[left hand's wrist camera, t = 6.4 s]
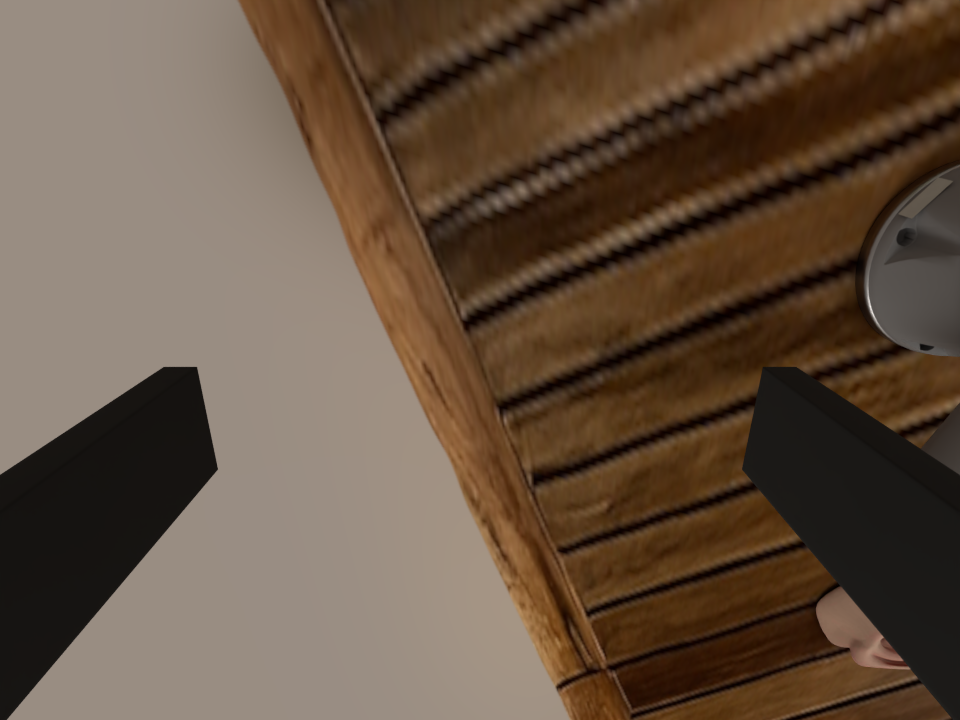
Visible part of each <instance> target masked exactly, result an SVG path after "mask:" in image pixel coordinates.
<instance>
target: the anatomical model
mask: <svg viewBox="0 0 960 720" xmlns="http://www.w3.org/2000/svg"><path fill="white" fill-rule="evenodd" d="M816 613H817V617H818V620H819V623H820V626H821V628H822V630H823V632H824V633H825V635H826V636H827V638H828V639H829V641H831V642H832V643H833V644H835V645H837V646H841V647H849V648H850V650H851V655H852V658H853V660H854V661H855V662H856V663H857V664H859V665H861V666H866V667H877V668H890V669H910V668H909V667H908V665H907V664H906V663H905V662H904V661H903V660H902V658H901V657H900V656H899V655H898V654H897V652H896V651H895V650H894V649H893V648H892V646H891V645H890V644H889V643H888V642H887V641H886V639H885V638H884V637H883V636H882V635H881V633H880V632H879V631H878V630H877V629H876V628H875V626H874V625H873V624H872V623H871V622H870V620H869V619H868V618H867V617H866V616H865V614H864V613H863V612H862V611H861V610H860V609H859V607H858V606H857V605H856V604H855V603H854V601H853V600H852V599H851V598H850V597H849V596H848V594H847V593H846V592H845V591H844V590H843V588H842V587H841V586H839V587H838V588H836V589H834V590H832V591H831V592H829V593H828V594H826V595H825V596H824V597H823V598H822V599H820V601H819V602H818V604H817V606H816Z"/></svg>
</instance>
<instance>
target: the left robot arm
mask: <svg viewBox="0 0 960 720" xmlns="http://www.w3.org/2000/svg"><path fill="white" fill-rule="evenodd" d="M855 284H856V294H857V299H858V303H859V306H860V309H861V311H862V313H863V315H864V317H865V319H866V320H867V322H868V323H869V324H870V325H871V327H872V328H873V329H874V330H875V331H876V332H877V333H879V334H880V335H881V336H883V337H884V338H886V339H888V340H890V341H892V342H894V343H896V344H898V345H901V346H903V347H905V348H908V349H910V350H913V351H917V352H921V353H926V354H932V355H940V356H957V357H960V160H959V161H956V162H952V163H949V164H946V165H944V166H942V167H939V168H937V169H935V170H933V171H931V172H929V173H927V174H925V175H924V176H922V177H921V178H919V179H917V180H916V181H915V182H913V183H912V184H910V185H909V186H908V187H906V188H905V189H904V190H903V191H902V192H901V193H899V194H898V195H897V196H896V197H895V198H894V199H893V200H892V201H891V202H890V203H889V205H888V206H887V207H886V208H885V209H884V210H883V212H882V213H881V214H880V216H879V217H878V218H877V220H876V221H875V223H874V225H873V226H872V228H871V229H870V231H869V233H868V235H867V237H866V239H865V242H864V244H863V246H862V249H861V252H860V255H859V259H858V263H857V269H856V283H855ZM217 470H218V468H217V463H216V458H215V453H214V448H213V443H212V438H211V433H210V429H209V424H208V419H207V414H206V409H205V404H204V399H203V394H202V389H201V384H200V380H199V375H198V370H197V367H163V368H162V369H160V370H159V371H157V372H156V373H154V374H153V375H151V376H149V377H148V378H147V379H145V380H143V381H142V382H140V383H139V384H137V385H136V386H134V387H133V388H131V389H130V390H128V391H127V392H125V393H124V394H122V395H121V396H119V397H118V398H116V399H115V400H113V401H112V402H110V403H109V404H107V405H105V406H104V407H103V408H101V409H99V410H98V411H96V412H95V413H93V414H92V415H90V416H89V417H87V418H86V419H84V420H83V421H81V422H80V423H78V424H77V425H75V426H74V427H72V428H71V429H69V430H68V431H66V432H65V433H63V434H61V435H60V436H58V437H57V438H55V439H54V440H52V441H51V442H49V443H48V444H46V445H45V446H43V447H42V448H40V449H39V450H37V451H36V452H34V453H33V454H31V455H30V456H28V457H27V458H25V459H24V460H22V461H20V462H19V463H17V464H16V465H14V466H13V467H11V468H10V469H8V470H7V471H5V472H4V473H2V474H1V475H0V720H7V719H8V718H9V716H10V715H11V714H12V713H13V712H14V711H15V709H16V708H17V707H18V706H19V704H20V703H21V702H22V701H23V700H24V699H25V697H26V696H27V695H28V694H29V693H30V691H31V690H32V689H33V688H34V687H35V686H36V684H37V683H38V682H39V681H40V680H41V678H42V677H43V676H44V675H45V674H46V672H47V671H48V670H49V669H50V668H51V667H52V665H53V664H54V663H55V662H56V661H57V659H58V658H59V657H60V656H61V655H62V654H63V652H64V651H65V650H66V649H67V648H68V646H69V645H70V644H71V643H72V642H73V640H74V639H75V638H76V637H77V636H78V635H79V633H80V632H81V631H82V630H83V629H84V628H85V626H86V625H87V624H88V623H89V622H90V620H91V619H92V618H93V617H94V616H95V614H96V613H97V612H98V611H99V610H100V609H101V607H102V606H103V605H104V604H105V603H106V601H107V600H108V599H109V598H110V597H111V595H112V594H113V593H114V592H115V591H116V590H117V588H118V587H119V586H120V585H121V584H122V582H123V581H124V580H125V579H126V578H127V576H128V575H129V574H130V573H131V572H132V571H133V569H134V568H135V567H136V566H137V565H138V564H139V562H140V561H141V560H142V559H143V558H144V556H145V555H146V554H147V553H148V552H149V550H150V549H151V548H152V547H153V546H154V545H155V543H156V542H157V541H158V540H159V539H160V537H161V536H162V535H163V534H164V533H165V532H166V530H167V529H168V528H169V527H170V526H171V524H172V523H173V522H174V521H175V520H176V518H177V517H178V516H179V515H180V514H181V513H182V511H183V510H184V509H185V508H186V507H187V505H188V504H189V503H190V502H191V501H192V499H193V498H194V497H195V496H196V495H197V494H198V492H199V491H200V490H201V489H202V488H203V486H204V485H205V484H206V483H207V482H208V480H209V479H210V478H211V477H212V476H213V475H214V473H215V472H216V471H217ZM742 470H743V471H744V472H745V473H746V475H747V476H748V477H749V478H750V479H751V481H752V482H753V483H754V484H755V485H756V486H757V488H758V489H759V490H760V491H761V492H762V494H763V495H764V496H765V497H766V498H767V500H768V501H769V502H770V503H771V504H772V505H773V507H774V508H775V509H776V510H777V511H778V513H779V514H780V515H781V516H782V517H783V518H784V520H785V521H786V522H787V523H788V524H789V526H790V527H791V528H792V529H793V530H794V532H795V533H796V534H797V535H798V536H799V537H800V539H801V540H802V541H803V542H804V543H805V545H806V546H807V547H808V548H809V549H810V550H811V552H812V553H813V554H814V555H815V556H816V558H817V559H818V560H819V561H820V562H821V564H822V565H823V566H824V567H825V568H826V569H827V571H828V572H829V573H830V574H831V575H832V577H833V578H834V579H835V580H836V581H837V582H838V584H839V585H840V586H841V587H842V588H843V590H844V591H845V592H846V593H847V594H848V596H849V597H850V598H851V599H852V600H853V601H854V603H855V604H856V605H857V606H858V607H859V609H860V610H861V611H862V612H863V613H864V614H865V616H866V617H867V618H868V619H869V620H870V622H871V623H872V624H873V625H874V626H875V628H876V629H877V630H878V631H879V632H880V633H881V635H882V636H883V637H884V638H885V639H886V641H887V642H888V643H889V644H890V645H891V646H892V648H893V649H894V650H895V651H896V652H897V654H898V655H899V656H900V657H901V658H902V660H903V661H904V662H905V663H906V664H907V665H908V667H909V668H910V669H911V670H912V671H913V673H914V674H915V675H916V676H917V677H918V678H919V680H920V681H921V682H922V683H923V684H924V686H925V687H926V688H927V689H928V690H929V692H930V693H931V694H932V695H933V696H934V697H935V699H936V700H937V701H938V702H939V703H940V705H941V706H942V707H943V708H944V709H945V711H946V712H947V713H948V714H949V715H950V716H951V718H952V719H953V720H960V403H959V404H958V406H957V407H956V408H955V409H954V410H953V411H952V413H951V414H950V415H949V416H948V417H947V419H946V420H945V421H944V422H943V423H942V424H941V426H940V427H939V428H938V429H937V430H936V431H935V433H934V434H933V435H932V436H931V437H930V439H929V440H928V441H927V442H926V443H925V444H924V446H923V447H922V448H921V449H920V448H918V447H917V446H915V445H914V444H912V443H911V442H909V441H908V440H906V439H905V438H903V437H902V436H900V435H899V434H897V433H895V432H894V431H892V430H891V429H889V428H888V427H886V426H885V425H883V424H882V423H880V422H879V421H877V420H876V419H874V418H873V417H871V416H870V415H868V414H867V413H865V412H864V411H862V410H861V409H859V408H858V407H856V406H855V405H853V404H851V403H850V402H848V401H847V400H845V399H844V398H842V397H841V396H839V395H838V394H836V393H835V392H833V391H832V390H830V389H829V388H827V387H826V386H824V385H823V384H821V383H820V382H818V381H817V380H815V379H814V378H812V377H811V376H809V375H807V374H806V373H804V372H803V371H801V370H800V369H798V368H797V367H763V370H762V375H761V380H760V384H759V389H758V394H757V399H756V404H755V409H754V414H753V419H752V423H751V428H750V433H749V438H748V443H747V448H746V453H745V458H744V463H743V467H742Z"/></svg>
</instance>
